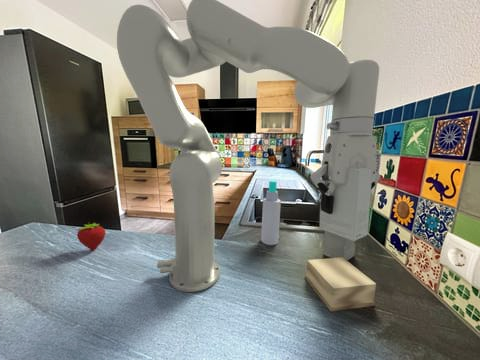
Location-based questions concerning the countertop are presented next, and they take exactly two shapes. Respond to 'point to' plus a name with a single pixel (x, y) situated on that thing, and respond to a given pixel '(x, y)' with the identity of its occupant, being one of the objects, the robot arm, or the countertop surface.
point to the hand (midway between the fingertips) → (342, 210)
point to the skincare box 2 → (338, 246)
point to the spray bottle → (271, 216)
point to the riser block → (340, 284)
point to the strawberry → (91, 235)
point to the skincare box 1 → (350, 206)
